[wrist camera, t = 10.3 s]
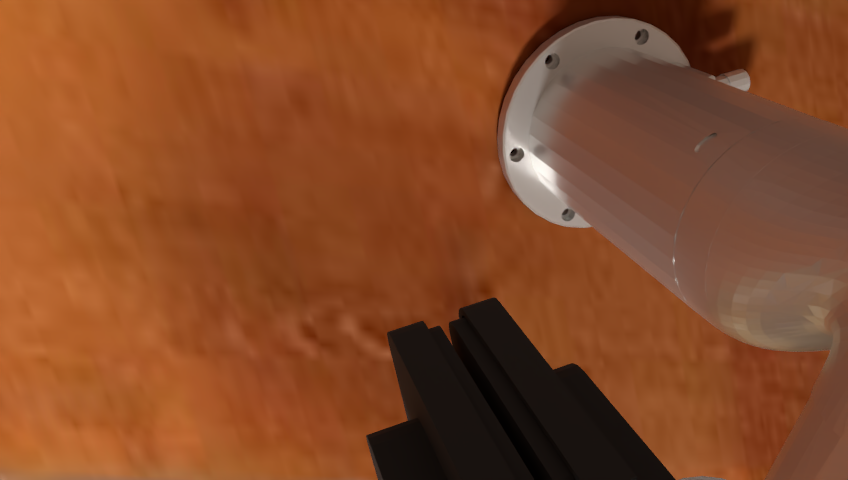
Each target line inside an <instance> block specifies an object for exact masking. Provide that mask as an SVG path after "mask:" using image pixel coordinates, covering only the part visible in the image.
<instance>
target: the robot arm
mask: <svg viewBox="0 0 848 480" xmlns="http://www.w3.org/2000/svg"><path fill="white" fill-rule="evenodd" d="M636 33H637V35H636ZM635 35H636V36H635ZM548 55H549V60H548V61H547V62H545V60H546V58H547V56H548ZM749 87H750V78H749V75H748V73H747V72H746V71H745V70H744V69H737V70H734V71H730V72H727V73H723V74H720V75H719V76H717V77H715V76H713V75H710V74H708V73H705V72H702V71H700V70H697V69H694V68H691V67H690V64H689V61H688V59H687V58H686V56H685V55H684V53H683V51H682V50H681V48H680V47H679V45H678V44H677V43H676V42H675V41H674V40H673V39H671V38H670V37H669V36H668V35H667V34H666V33H665V32H663V31H661V30H660V29H658V28H656V27H655V26H653V25H651V24H648V23H645V22H643V21H640V20H637V19H633V18H627V17H621V16H601V17H595V18H591V19H587V20H583V21H579V22H577V23H575V24H573V25H571V26H569V27H567V28H564V29H562V30H560V31H559V32H557V33H556V34H555V35H553V36H552V37H550V38H549V39H548V40H546V41H545V42H544V43H542V44H541V45H540V46H539V47H538V48H537V49H536V50H535V51H534V52H533V53H532V54H531V56H530V57H529V58H528V59H527V60H526V61H525V63H524V64H523V65H522V67H521V68H520V70H519V71H518V73H517V74H516V76H515V77H514V79H513V81H512V83H511V85H510V87H509V90H508V92H507V94H506V96H505V98H504V102H503V106H502V109H501V113H500V117H499V124H498V135H497V143H498V154H499V160H500V163H501V167H502V170H503V173H504V176H505V178H506V180H507V182H508V184H509V185H510V187H511V189H512V191H513V192H514V193H515V194H516V196H517V197H518V198H519V199H520V200H521V201H522V202H523V203H524V204H525V205H526V206H527V207H528V208H529V209H531V210H532V211H533V212H534V213H535V214H537V215H538V216H540V217H542V218H544V219H546V220H548V221H549V222H552V223H555V224H558V225H561V226H565V227H578V228H587V227H593V228H595V229H596V230H597V231H598V232H599V233H601V234H602V235H603V236H604V237H606V238H607V239H608V240H609V241H610V242H612V243H613V244H614V245H615V246H616V247H618V248H619V249H620V250H621V251H623V252H624V253H625V254H626V255H627V256H629V257H630V258H631V259H632V260H633V261H635V262H636V263H637V264H638V265H640V266H641V267H642V268H643V269H644V270H646V271H647V272H648V273H649V274H650V275H652V276H653V277H654V278H655V279H657V280H658V281H659V282H660V283H661V284H663V285H664V286H665V287H666V288H668V289H669V290H670V291H671V292H672V293H674V294H675V295H676V296H677V297H678V298H680V299H681V300H682V301H683V302H685V303H686V304H687V305H688V306H689V307H691V308H692V309H693V310H694V311H695V312H697V313H698V314H700V315H701V316H702V317H703V318H705V319H706V320H707V321H708V322H710V323H711V324H712V325H713V326H715V327H716V328H718V329H719V330H721V331H722V332H724V333H725V334H727V335H729V336H731V337H733V338H735V339H737V340H739V341H741V342H744V343H746V344H749V345H753V346H757V347H760V348H765V349H770V350H777V351H791V352H806V351H823V350H830V354H829V356H828V358H827V360H826V363H825V365H824V367H823V369H822V371H821V373H820V375H819V377H818V379H817V381H816V383H815V384H814V386H813V388H812V395H811V397H810V399H809V400H808V402H807V404H806V406H805V408H804V409H803V411H802V413H801V415H800V417H799V418H798V420H797V422H796V424H795V426H794V427H793V429H792V431H791V433H790V435H789V436H788V438H787V440H786V442H785V444H784V445H783V447H782V449H781V451H780V453H779V455H778V456H777V458H776V460H775V462H774V464H773V465H772V467H771V469H770V471H769V473H768V474H767V476H766V478H765V480H848V129H846V128H844V127H841V126H838V125H835V124H833V123H830V122H827V121H824V120H821V119H818V118H815V117H813V116H810V115H807V114H805V113H802V112H799V111H797V110H794V109H791V108H789V107H786V106H783V105H781V104H778V103H775V102H773V101H770V100H767V99H765V98H762V97H759V96H757V95H754V94H751V93H749V92H746V91H747V90H748V89H749ZM514 148H515V149H514ZM513 149H514V152H513V153H511V151H512V150H513ZM510 153H511V154H510ZM449 330H450V335H451V340H452V344H451V343H450V341H449V340H448V338H447V336H446V335H445V333H444V331H443V330H442V328H441V327H440V326H436V327H433V328H430V329H428V328H427V326H426V324H425V323H424V322H423V321H420V322H417V323H414V324H411V325H408V326H405V327H402V328H399V329H396V330H393V331H390V332H388V333H387V336H388V341H389V346H390V350H391V354H392V358H393V362H394V366H395V370H396V374H397V378H398V382H399V386H400V390H401V394H402V398H403V402H404V407H405V411H406V415H407V419H408V421H406V422H403V423H400V424H398V425H395V426H392V427H389V428H386V429H383V430H380V431H378V432H375V433H372V434H369V435H366V437H367V442H368V446H369V449H370V453H371V456H372V460H373V463H374V467H375V470H376V474H377V477H378V480H675V478H674V477H673V476H672V475H671V474H670V472H669V471H668V470H667V469H666V468H665V467H664V465H663V464H662V463H661V462H660V461H659V459H658V458H657V457H656V456H655V455H654V454H653V452H652V451H651V450H650V449H649V448H648V446H647V445H646V444H645V443H644V442H643V441H642V439H641V438H640V437H639V436H638V435H637V433H636V432H635V431H634V430H633V429H632V428H631V426H630V425H629V424H628V423H627V422H626V420H625V419H624V418H623V417H622V416H621V415H620V413H619V412H618V411H617V410H616V409H615V407H614V406H613V405H612V404H611V403H610V402H609V400H608V399H607V398H606V397H605V396H604V394H603V393H602V392H601V391H600V390H599V389H598V387H597V386H596V385H595V384H594V383H593V381H592V380H591V379H590V378H589V377H588V375H587V374H586V373H585V372H584V371H583V370H582V369H581V368H580V367H579V366H578V365H576V364H573V363H571V364H569V365H566V366H563V367H560V368H557V369H554V370H552V368H551V367H550V366H549V364H548V363H547V362H546V361H545V359H544V358H543V357H542V355H541V354H540V353H539V352H538V350H537V349H536V348H535V347H534V345H533V344H532V343H531V341H530V340H529V339H528V338H527V336H526V335H525V334H524V333H523V331H522V330H521V329H520V327H519V326H518V325H517V324H516V322H515V321H514V320H513V319H512V317H511V316H510V315H509V313H508V312H507V311H506V310H505V308H504V307H503V306H502V305H501V303H500V302H499V301H498V300H497V299H496V298H490V299H487V300H484V301H481V302H478V303H475V304H472V305H469V306H466V307H463V308H460V310H459V319H458V320H455V321H452V322H450V323H449ZM452 345H453V346H452ZM680 480H725V479H722V478H714V477H705V476H699V477H690V478H682V479H680Z"/></svg>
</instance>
